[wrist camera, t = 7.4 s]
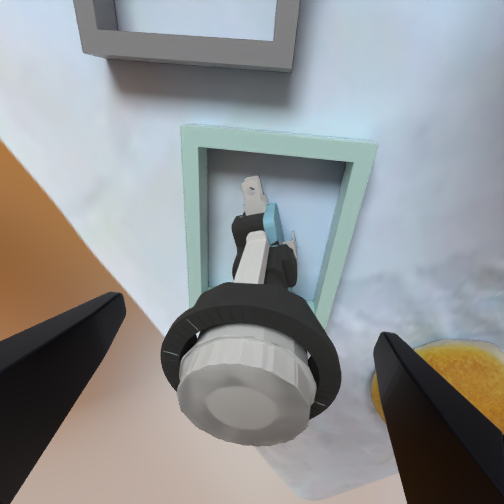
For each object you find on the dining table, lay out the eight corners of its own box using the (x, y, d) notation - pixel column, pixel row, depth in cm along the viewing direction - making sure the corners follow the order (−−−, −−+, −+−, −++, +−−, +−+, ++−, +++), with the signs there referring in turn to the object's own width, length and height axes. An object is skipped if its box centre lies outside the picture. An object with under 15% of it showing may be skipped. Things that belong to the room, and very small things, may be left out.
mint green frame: (369, 140, 13) (378, 144, 11) (323, 312, 18) (325, 328, 16) (191, 123, 13) (180, 125, 12) (196, 294, 18) (189, 308, 17)
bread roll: (347, 365, 20) (359, 419, 17) (477, 314, 17) (527, 370, 13) (400, 423, 23) (419, 481, 19) (523, 389, 19) (575, 453, 15)
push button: (207, 184, 15) (80, 300, 6) (305, 162, 13) (329, 267, 5) (238, 283, 18) (185, 459, 9) (321, 273, 16) (355, 464, 8)
